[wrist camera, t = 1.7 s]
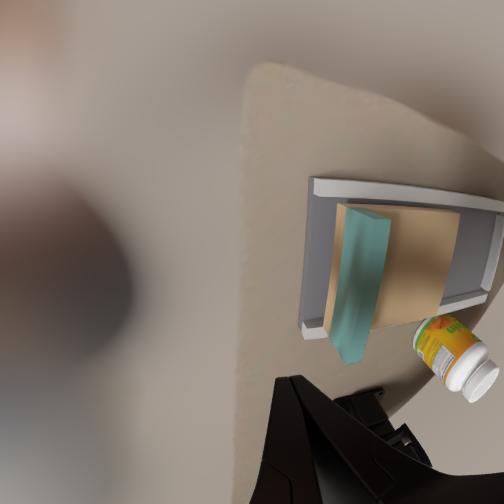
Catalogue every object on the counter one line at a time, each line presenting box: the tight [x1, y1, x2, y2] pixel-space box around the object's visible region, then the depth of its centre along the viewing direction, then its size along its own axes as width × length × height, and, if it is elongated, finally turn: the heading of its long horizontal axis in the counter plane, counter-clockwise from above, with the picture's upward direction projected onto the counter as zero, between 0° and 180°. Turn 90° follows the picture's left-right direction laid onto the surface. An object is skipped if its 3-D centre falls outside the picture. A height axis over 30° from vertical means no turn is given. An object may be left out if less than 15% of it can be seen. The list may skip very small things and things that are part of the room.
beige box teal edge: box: [323, 203, 460, 365], centre depth 16 cm, size 8×10×5 cm
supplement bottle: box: [413, 313, 499, 403], centre depth 19 cm, size 5×5×10 cm
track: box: [298, 177, 504, 340], centre depth 19 cm, size 11×22×2 cm, turn 89°
